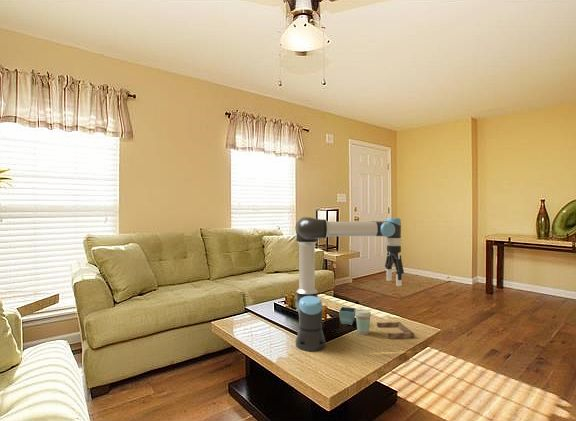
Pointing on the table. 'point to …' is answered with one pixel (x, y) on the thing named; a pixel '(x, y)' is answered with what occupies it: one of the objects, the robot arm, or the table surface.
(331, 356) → the table surface
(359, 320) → the coffee cup
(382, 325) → the bay
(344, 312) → the flower pot
